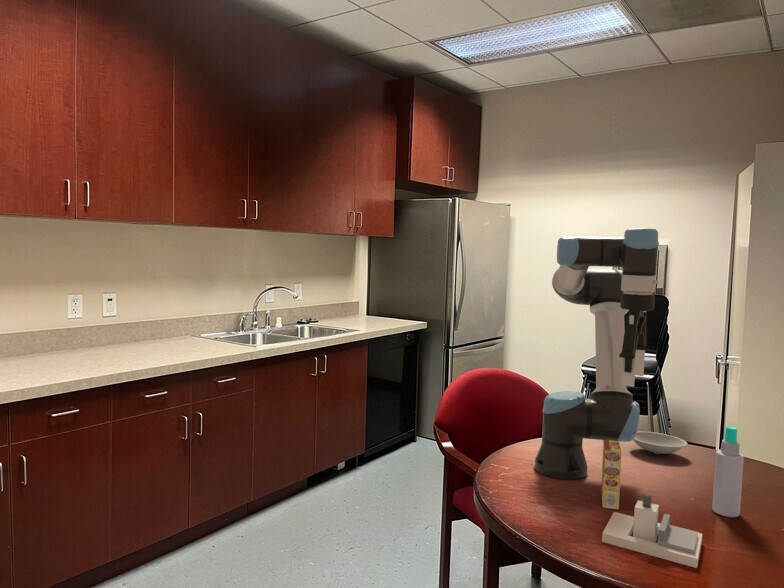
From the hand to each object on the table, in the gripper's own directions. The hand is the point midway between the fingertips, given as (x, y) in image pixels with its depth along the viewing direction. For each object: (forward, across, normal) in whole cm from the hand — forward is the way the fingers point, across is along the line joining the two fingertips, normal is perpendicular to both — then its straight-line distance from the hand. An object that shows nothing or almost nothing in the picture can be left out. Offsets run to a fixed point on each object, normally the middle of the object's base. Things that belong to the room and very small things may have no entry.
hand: (632, 380), depth 138 cm
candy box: (+35, +7, +5) cm, 36 cm away
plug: (+34, -10, -6) cm, 36 cm away
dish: (+35, +56, 0) cm, 66 cm away
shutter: (+32, -10, -13) cm, 36 cm away
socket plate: (+34, -10, -7) cm, 36 cm away
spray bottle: (+35, +18, -21) cm, 44 cm away
